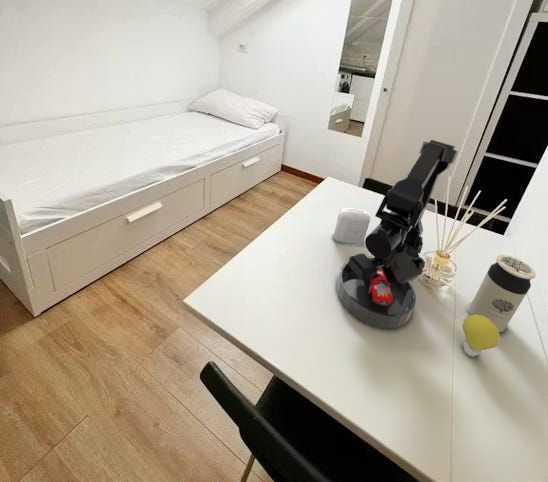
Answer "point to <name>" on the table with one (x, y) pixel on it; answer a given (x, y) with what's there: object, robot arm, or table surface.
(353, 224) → the white ribbed slab
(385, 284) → the race car
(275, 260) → the table surface
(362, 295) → the pan
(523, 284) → the white canister
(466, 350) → the light bulb
